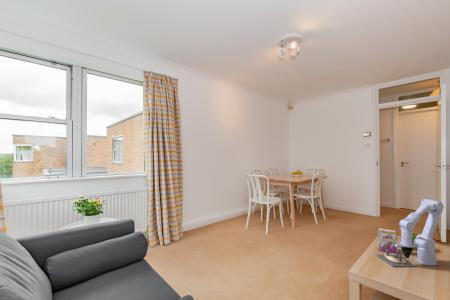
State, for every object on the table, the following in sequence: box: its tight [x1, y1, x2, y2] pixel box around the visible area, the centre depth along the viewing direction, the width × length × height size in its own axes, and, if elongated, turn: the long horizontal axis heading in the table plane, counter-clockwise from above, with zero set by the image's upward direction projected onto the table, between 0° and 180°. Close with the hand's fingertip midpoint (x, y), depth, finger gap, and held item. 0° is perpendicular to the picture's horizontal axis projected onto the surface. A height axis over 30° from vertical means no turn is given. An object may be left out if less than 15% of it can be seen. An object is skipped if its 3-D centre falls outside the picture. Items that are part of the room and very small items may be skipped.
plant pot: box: [412, 231, 421, 251], centre depth 168 cm, size 12×12×11 cm
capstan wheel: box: [384, 248, 407, 264], centre depth 149 cm, size 12×12×6 cm
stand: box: [376, 254, 416, 268], centre depth 149 cm, size 15×15×1 cm
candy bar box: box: [377, 227, 398, 254], centre depth 163 cm, size 11×5×16 cm, turn 58°
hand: (406, 257), depth 144 cm, fingers closed
